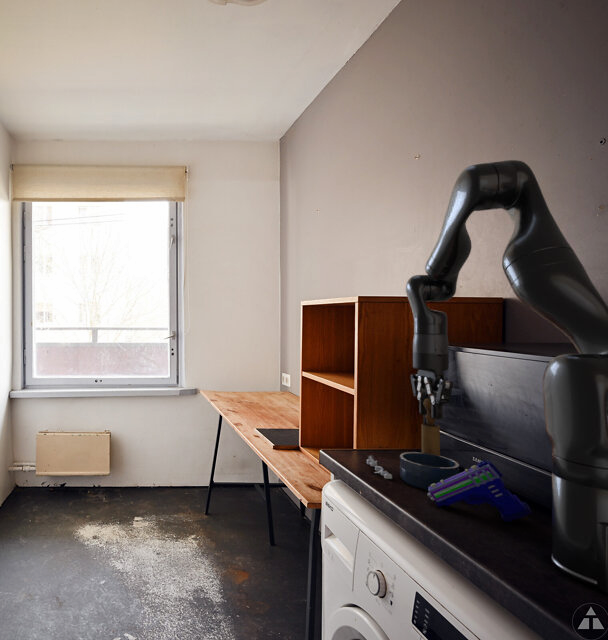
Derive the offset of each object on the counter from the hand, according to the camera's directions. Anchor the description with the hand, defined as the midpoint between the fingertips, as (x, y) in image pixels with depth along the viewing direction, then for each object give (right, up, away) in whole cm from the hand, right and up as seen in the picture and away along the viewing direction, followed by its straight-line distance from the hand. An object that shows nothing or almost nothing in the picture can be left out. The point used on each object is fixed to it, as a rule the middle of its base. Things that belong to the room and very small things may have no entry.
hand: (430, 416), depth 107 cm
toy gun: (-10, -14, -25) cm, 30 cm away
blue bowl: (-8, -13, -10) cm, 19 cm away
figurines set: (-15, -14, -2) cm, 20 cm away
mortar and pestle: (0, -14, 0) cm, 14 cm away
